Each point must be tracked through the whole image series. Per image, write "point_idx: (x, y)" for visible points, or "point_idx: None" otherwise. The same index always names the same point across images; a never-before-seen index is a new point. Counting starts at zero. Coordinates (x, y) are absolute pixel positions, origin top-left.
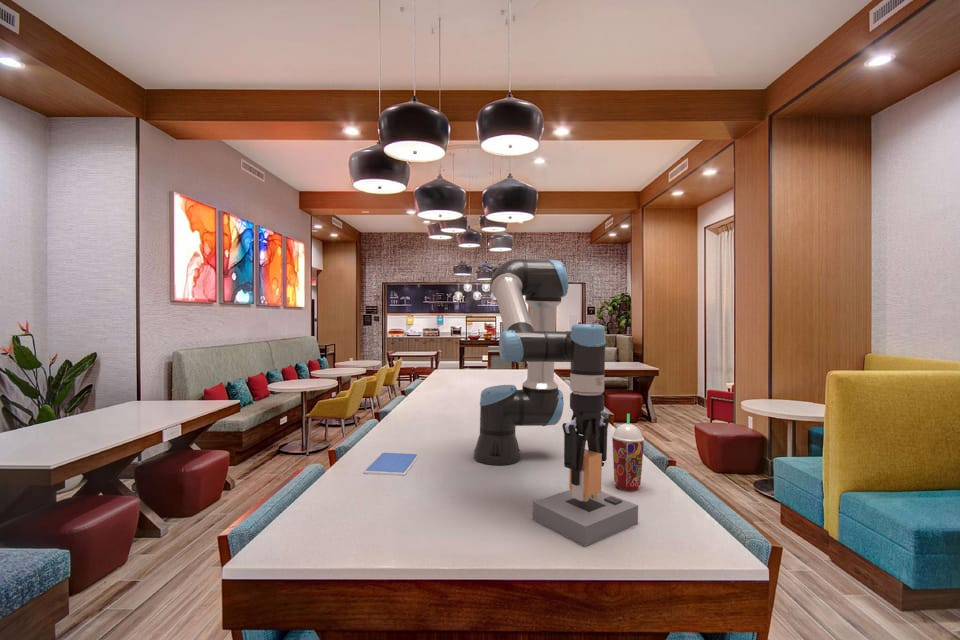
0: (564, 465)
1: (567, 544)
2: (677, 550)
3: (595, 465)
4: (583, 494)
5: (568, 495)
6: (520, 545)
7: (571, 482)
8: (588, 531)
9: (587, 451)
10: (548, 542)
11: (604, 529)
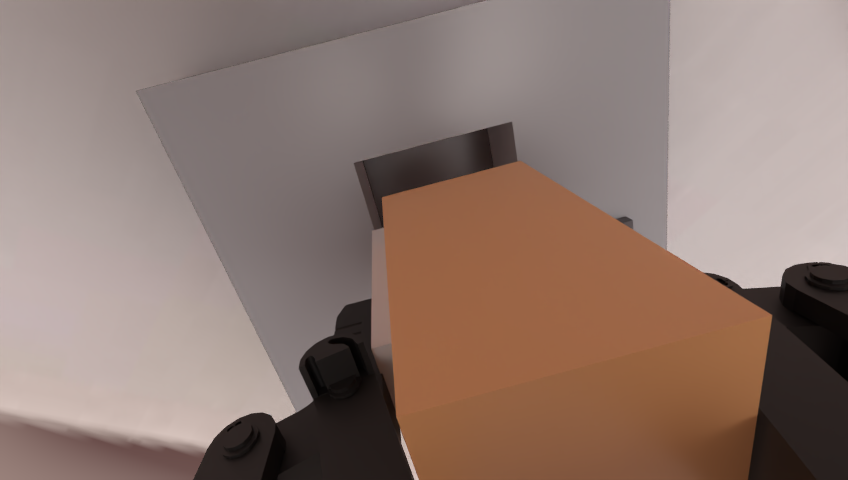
0: (212, 447)
1: (256, 334)
2: None
3: None
4: None
5: (432, 88)
6: (51, 292)
7: (339, 316)
8: None
9: (678, 468)
10: (185, 304)
11: None
